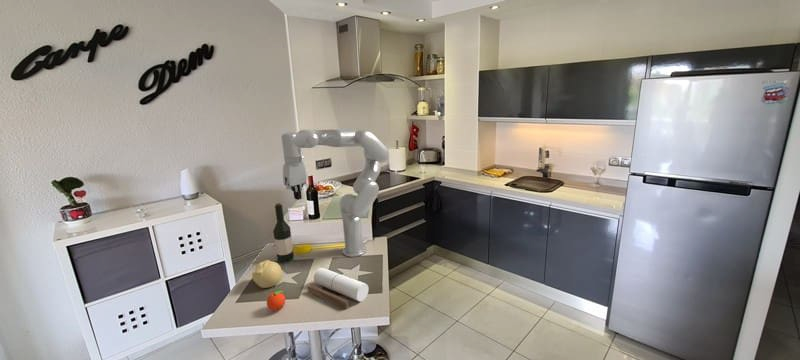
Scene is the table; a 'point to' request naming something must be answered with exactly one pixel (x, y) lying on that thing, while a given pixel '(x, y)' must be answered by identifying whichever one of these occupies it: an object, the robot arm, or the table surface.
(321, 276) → the cylindrical container
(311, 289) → the cradle rails
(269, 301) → the clementine
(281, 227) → the wine bottle
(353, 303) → the table surface
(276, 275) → the pale yellow lumpy blob
